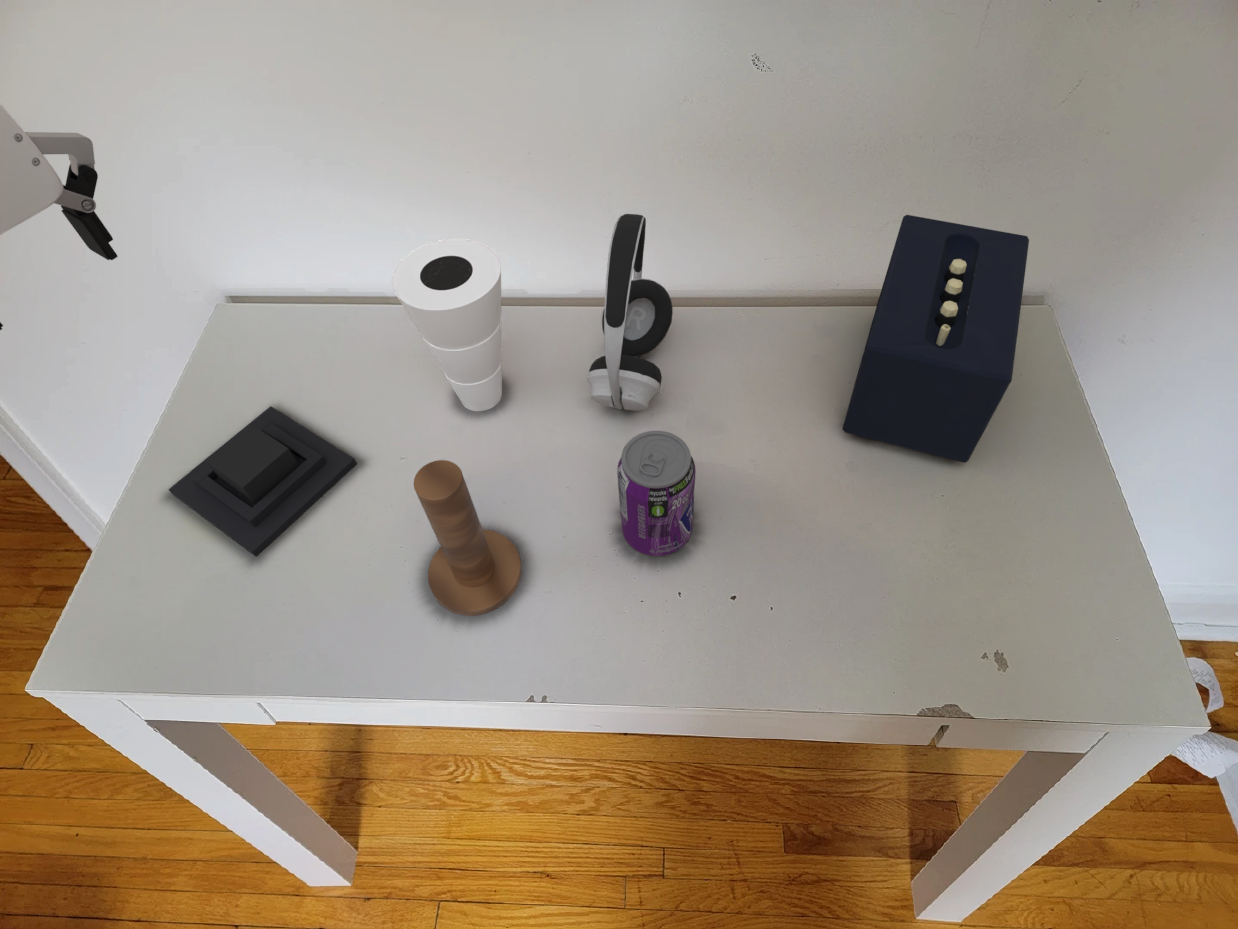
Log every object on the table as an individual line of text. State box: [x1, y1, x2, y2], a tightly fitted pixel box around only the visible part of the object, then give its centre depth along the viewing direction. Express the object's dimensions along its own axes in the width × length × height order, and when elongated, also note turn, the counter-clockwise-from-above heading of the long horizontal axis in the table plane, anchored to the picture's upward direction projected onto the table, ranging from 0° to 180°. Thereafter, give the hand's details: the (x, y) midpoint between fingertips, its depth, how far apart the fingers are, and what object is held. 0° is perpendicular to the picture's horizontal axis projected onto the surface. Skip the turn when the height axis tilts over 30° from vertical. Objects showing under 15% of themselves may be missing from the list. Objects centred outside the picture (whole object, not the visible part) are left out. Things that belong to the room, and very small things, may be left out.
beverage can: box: [616, 430, 697, 557], centre depth 72 cm, size 7×7×12 cm
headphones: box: [586, 213, 674, 411], centre depth 82 cm, size 19×8×20 cm, turn 172°
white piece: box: [391, 237, 503, 412], centre depth 82 cm, size 11×11×18 cm
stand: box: [413, 459, 523, 617], centre depth 69 cm, size 9×9×16 cm
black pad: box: [207, 425, 300, 505], centre depth 81 cm, size 6×6×4 cm
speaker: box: [842, 214, 1030, 464], centre depth 81 cm, size 22×13×15 cm, turn 159°
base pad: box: [168, 406, 358, 557], centre depth 82 cm, size 14×14×2 cm
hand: (49, 287), depth 60 cm, fingers open, 9 cm apart
